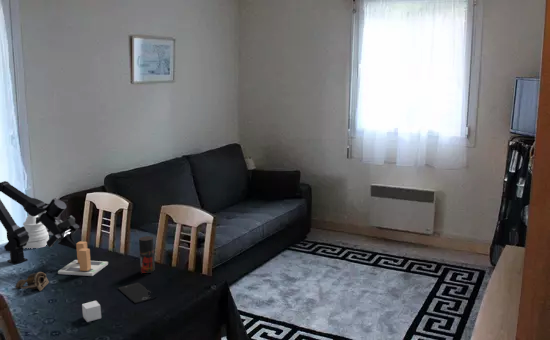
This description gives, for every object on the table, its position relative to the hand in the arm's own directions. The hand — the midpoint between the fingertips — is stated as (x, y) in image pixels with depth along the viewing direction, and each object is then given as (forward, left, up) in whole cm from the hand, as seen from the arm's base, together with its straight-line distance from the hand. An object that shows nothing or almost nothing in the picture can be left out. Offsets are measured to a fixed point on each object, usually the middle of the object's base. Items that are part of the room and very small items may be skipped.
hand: (76, 248), depth 243 cm
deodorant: (+32, +12, -8) cm, 36 cm away
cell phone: (+46, -6, -8) cm, 47 cm away
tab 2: (+11, -4, -6) cm, 14 cm away
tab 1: (+2, +1, -6) cm, 7 cm away
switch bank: (+6, -2, -8) cm, 10 cm away
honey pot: (-43, +5, -8) cm, 44 cm away
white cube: (+49, -29, -8) cm, 58 cm away
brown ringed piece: (+7, -26, -8) cm, 28 cm away
